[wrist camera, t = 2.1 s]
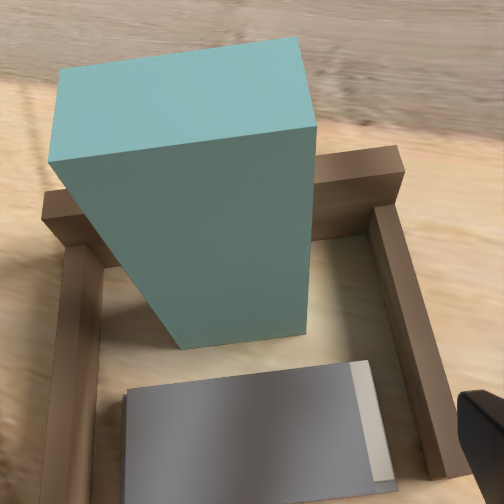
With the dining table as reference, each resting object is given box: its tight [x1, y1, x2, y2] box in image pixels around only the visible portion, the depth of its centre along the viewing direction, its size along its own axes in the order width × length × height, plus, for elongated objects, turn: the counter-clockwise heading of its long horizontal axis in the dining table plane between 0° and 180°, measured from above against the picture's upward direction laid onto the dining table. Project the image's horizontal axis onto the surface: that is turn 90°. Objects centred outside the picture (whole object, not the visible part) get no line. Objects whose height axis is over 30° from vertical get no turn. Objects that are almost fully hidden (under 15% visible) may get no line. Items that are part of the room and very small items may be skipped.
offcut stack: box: [120, 360, 398, 504], centre depth 20 cm, size 11×5×2 cm, turn 96°
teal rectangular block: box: [48, 36, 317, 350], centre depth 17 cm, size 6×3×14 cm, turn 96°
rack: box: [39, 145, 473, 504], centre depth 20 cm, size 16×13×5 cm
